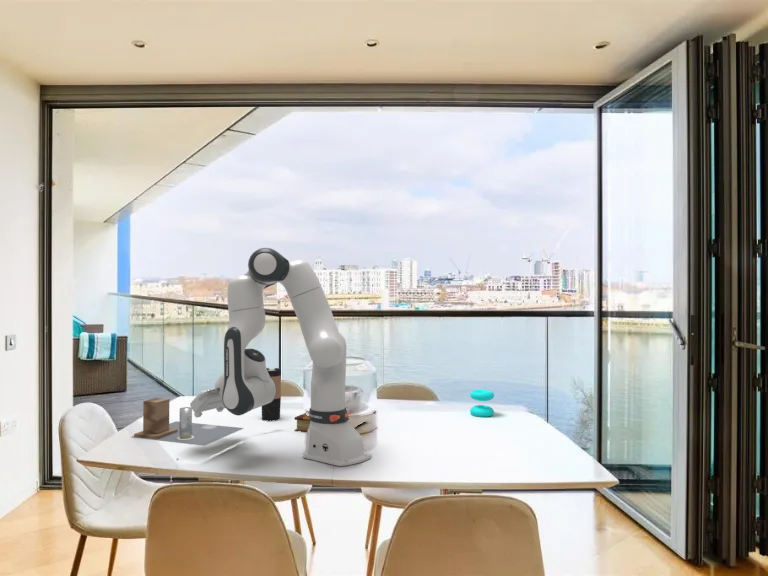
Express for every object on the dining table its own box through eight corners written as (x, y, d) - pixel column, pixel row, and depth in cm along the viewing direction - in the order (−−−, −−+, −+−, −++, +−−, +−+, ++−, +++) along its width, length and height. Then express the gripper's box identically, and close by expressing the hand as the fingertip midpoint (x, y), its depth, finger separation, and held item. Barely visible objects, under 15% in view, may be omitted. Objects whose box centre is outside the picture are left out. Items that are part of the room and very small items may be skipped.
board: (244, 430, 203) (244, 428, 203) (204, 448, 181) (204, 445, 181) (176, 423, 212) (176, 421, 212) (129, 440, 190) (129, 437, 190)
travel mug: (270, 422, 217) (270, 371, 217) (257, 419, 221) (257, 369, 221) (284, 418, 223) (285, 369, 223) (271, 415, 227) (272, 367, 227)
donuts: (495, 390, 237) (492, 394, 227) (495, 413, 237) (492, 418, 227) (472, 388, 240) (468, 392, 230) (472, 411, 240) (468, 416, 230)
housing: (177, 432, 197) (177, 398, 197) (158, 439, 187) (158, 404, 187) (154, 429, 200) (154, 396, 200) (134, 436, 190) (134, 401, 190)
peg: (193, 437, 190) (194, 408, 190) (182, 439, 187) (182, 410, 187) (188, 435, 193) (188, 406, 193) (177, 437, 190) (177, 408, 190)
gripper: (209, 399, 170) (187, 427, 174) (256, 388, 187) (234, 414, 192) (199, 383, 172) (177, 411, 177) (246, 374, 190) (225, 400, 194)
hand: (207, 412), depth 185 cm, fingers open, 8 cm apart
